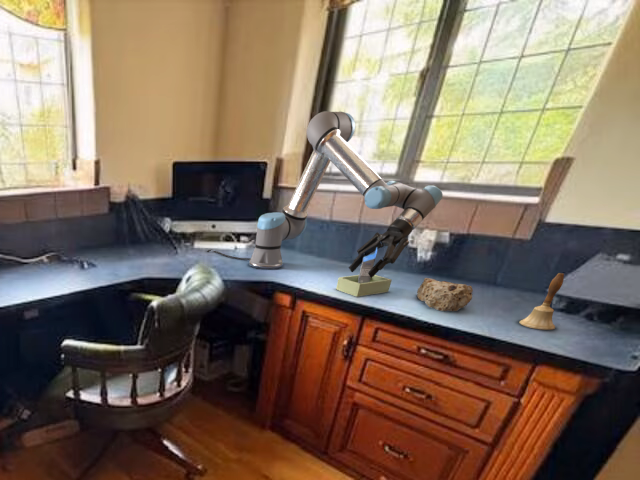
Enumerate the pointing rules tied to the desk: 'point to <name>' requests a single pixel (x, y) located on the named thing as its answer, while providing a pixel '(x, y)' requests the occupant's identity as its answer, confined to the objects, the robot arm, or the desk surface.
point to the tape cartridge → (366, 268)
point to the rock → (444, 294)
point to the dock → (363, 285)
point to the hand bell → (544, 308)
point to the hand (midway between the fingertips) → (360, 272)
